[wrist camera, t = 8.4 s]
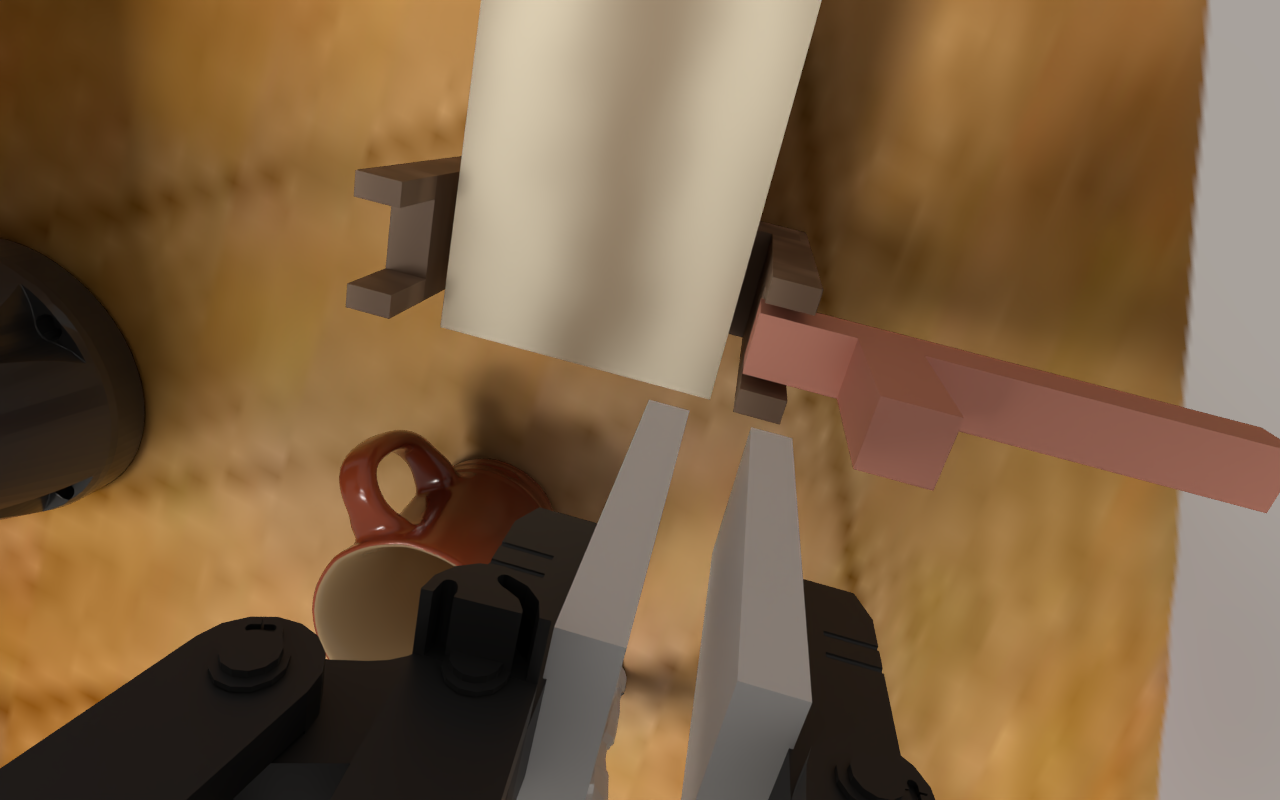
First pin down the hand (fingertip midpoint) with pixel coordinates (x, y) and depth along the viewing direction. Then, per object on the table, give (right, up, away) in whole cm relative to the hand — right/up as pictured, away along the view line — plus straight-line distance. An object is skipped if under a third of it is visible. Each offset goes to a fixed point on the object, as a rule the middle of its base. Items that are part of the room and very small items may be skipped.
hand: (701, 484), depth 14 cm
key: (+10, +2, +10) cm, 15 cm away
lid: (-1, +11, +13) cm, 17 cm away
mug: (-9, -3, +26) cm, 28 cm away
